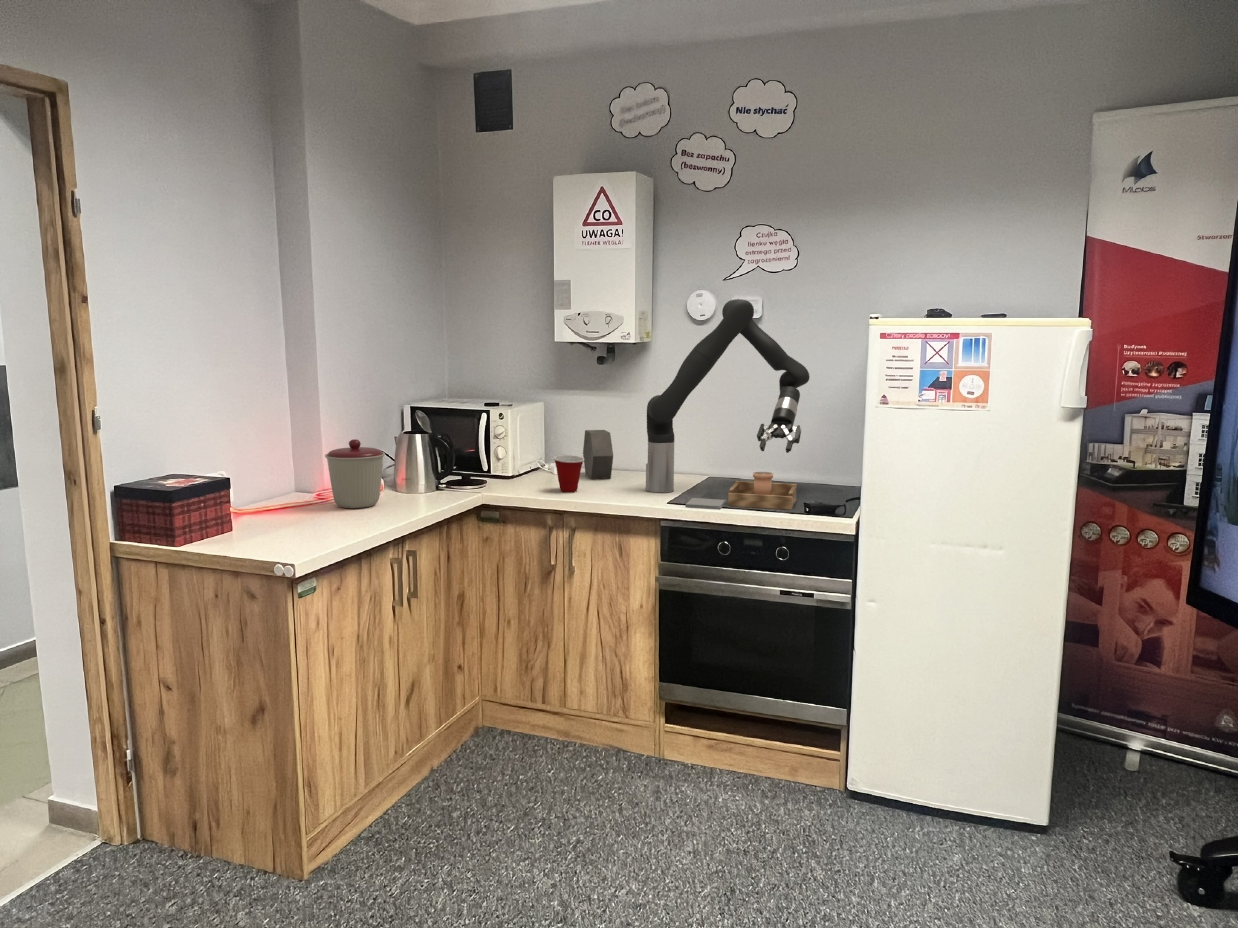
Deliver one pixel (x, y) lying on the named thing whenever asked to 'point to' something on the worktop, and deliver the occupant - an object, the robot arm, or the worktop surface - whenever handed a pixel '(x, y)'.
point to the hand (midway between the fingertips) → (774, 450)
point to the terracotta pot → (762, 483)
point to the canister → (355, 475)
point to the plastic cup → (568, 471)
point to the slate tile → (705, 503)
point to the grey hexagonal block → (598, 454)
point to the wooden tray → (762, 496)
